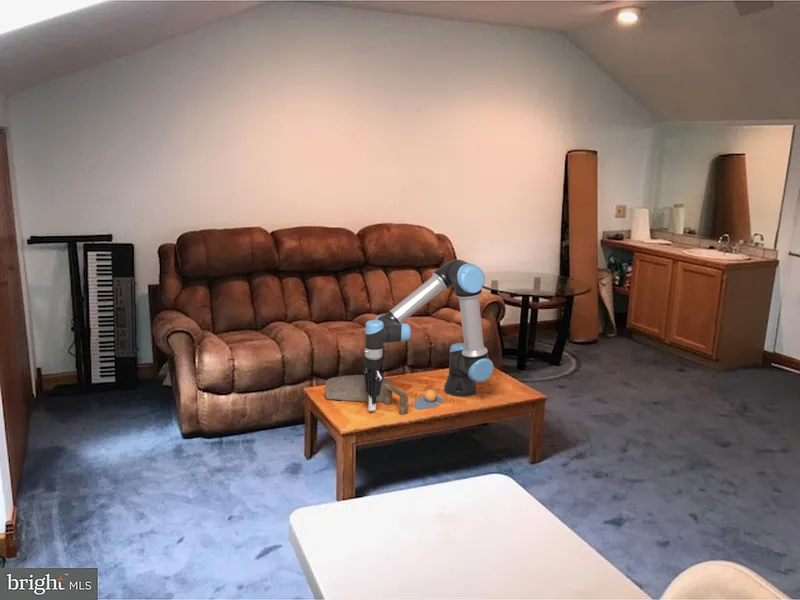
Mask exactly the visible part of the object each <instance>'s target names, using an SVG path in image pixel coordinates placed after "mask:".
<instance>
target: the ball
mask: <svg viewBox="0 0 800 600" xmlns="http://www.w3.org/2000/svg"><path fill="white" fill-rule="evenodd" d="M436 394H437V393H436V391H435V390H434V389H427V390H426V391H425V392H424V394H423V396H424V397H425V399H426V400H427V401H428V402H432V401H436V400H435V399H436Z"/></svg>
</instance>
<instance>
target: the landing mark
mask: <svg viewBox="0 0 800 600" xmlns="http://www.w3.org/2000/svg"><path fill="white" fill-rule="evenodd" d="M415 398H417V399H418V401H417V400H416V399H415ZM419 398H420V399H419ZM414 399H415V403H414V405H413V403H412V402H411V405H413V407H412V408H414V409H416V410H417V409H418V410H417V411H420V409H421V410H425V409H430V408H434V407H438V406H441V403H439V402H437V401H436V400H434V401H432V402H428V401H427V400H426V399H425V397H424V395H423V396H419V397H414ZM416 402H417V403H416ZM408 405H409V402H408ZM411 405H410V406H411ZM414 406H415V407H414Z"/></svg>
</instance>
